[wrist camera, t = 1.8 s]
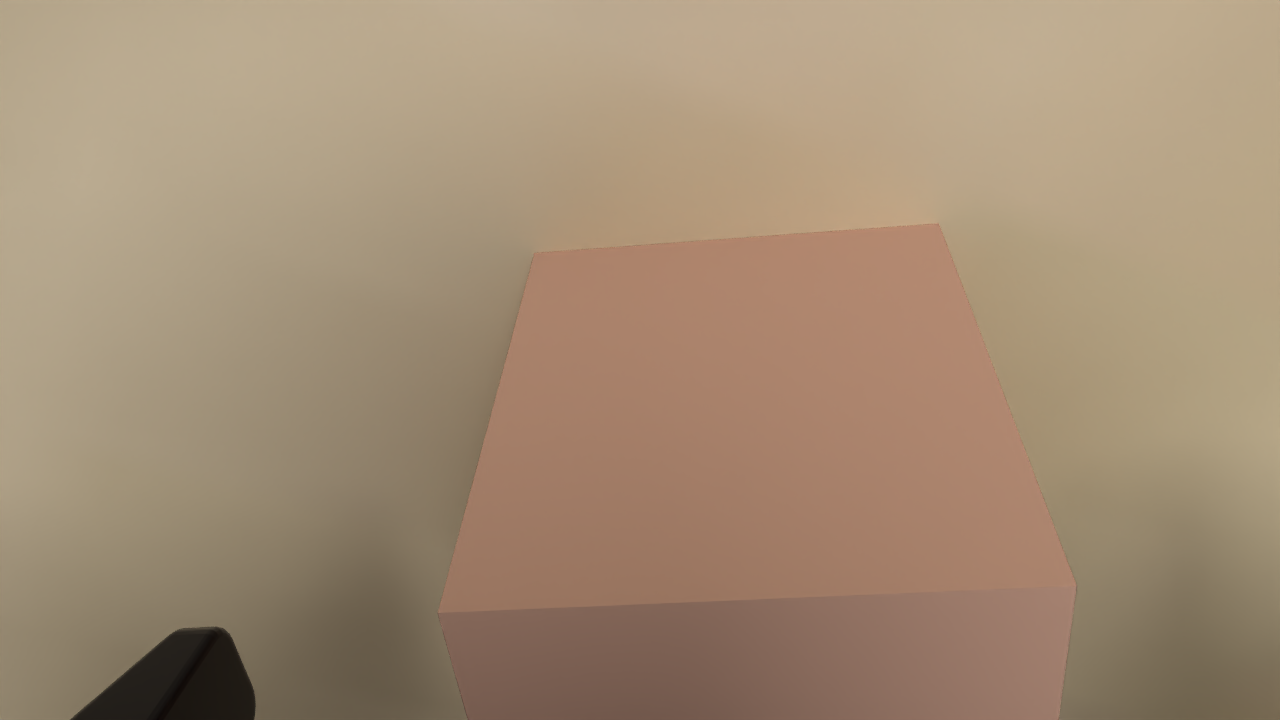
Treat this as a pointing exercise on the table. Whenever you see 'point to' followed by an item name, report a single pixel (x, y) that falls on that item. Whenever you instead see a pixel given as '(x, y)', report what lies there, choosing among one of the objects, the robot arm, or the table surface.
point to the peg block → (755, 496)
